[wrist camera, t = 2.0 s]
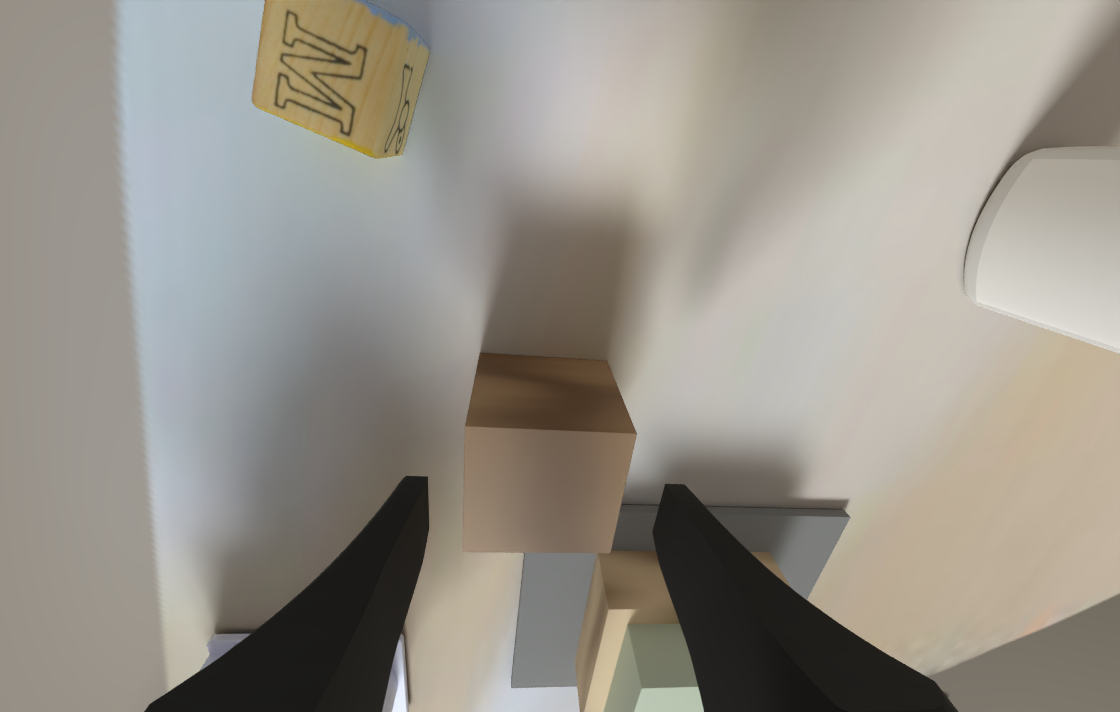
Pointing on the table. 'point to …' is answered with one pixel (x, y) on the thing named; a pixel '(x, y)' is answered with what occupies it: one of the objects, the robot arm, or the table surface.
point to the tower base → (623, 615)
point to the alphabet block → (340, 71)
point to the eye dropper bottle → (1053, 244)
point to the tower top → (654, 672)
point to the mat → (565, 578)
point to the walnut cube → (544, 456)
